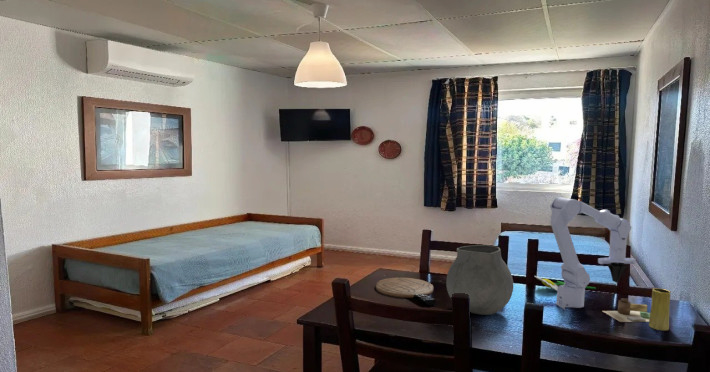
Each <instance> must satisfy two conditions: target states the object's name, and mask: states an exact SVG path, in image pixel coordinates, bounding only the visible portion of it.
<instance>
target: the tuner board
mask: <svg viewBox="0 0 710 372" xmlns="http://www.w3.org/2000/svg"><path fill="white" fill-rule="evenodd" d="M602 312H603V313H604V314H606V315H608V316H610V317H611V318H613V319H615V321H616V320H617V321H618V322H620V323H627V322H629V323H631V322H632V323H638V322H639V323H642V322H643V323H646V322H647V323H649V319H650V312H648V311H647V312H640V311H630V314H628V315H626V314H621V313H618V310H602Z"/></svg>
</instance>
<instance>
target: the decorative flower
mask: <svg viewBox="0 0 710 372" xmlns="http://www.w3.org/2000/svg"><path fill="white" fill-rule="evenodd" d="M534 278H536V279H537V280H538V281H541V283H542V284H543V285H544V286H545V287H547V288H550V289H553V290H555V291H556V292H557V289H558V287H559V286H560V285H564V284H565V283H564V281H560V280H556V282H553V281H551V280H550V279H547V278H541V277H539V276H537V275H534ZM585 289H591V290H596V287H595V286H588V285H587V286H586V288H585Z"/></svg>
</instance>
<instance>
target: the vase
mask: <svg viewBox="0 0 710 372" xmlns="http://www.w3.org/2000/svg"><path fill="white" fill-rule="evenodd" d="M651 291H652V292H651V305H650V312H649V313H650V319H649V322H648V327H650V328H651V329H653V330H657V331H669V330H670V304H671V291H670V290H668V289H665V288H657V287H656V288H655V287H654V288H652V290H651Z"/></svg>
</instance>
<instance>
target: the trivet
mask: <svg viewBox="0 0 710 372" xmlns="http://www.w3.org/2000/svg"><path fill="white" fill-rule="evenodd" d="M375 289H376V291H377V292H379V293H381V294H383V295H385V296H389V297H394V298H400V299H414V298H413V297H414V295H415V294H425V295H428V296H430V295H432V294H433V293H434V285H433V284H431V282H428V281H425V280H423V279H418V278H412V277H388V278H384V279H381V280H378V281H377V282H376V284H375Z"/></svg>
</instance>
